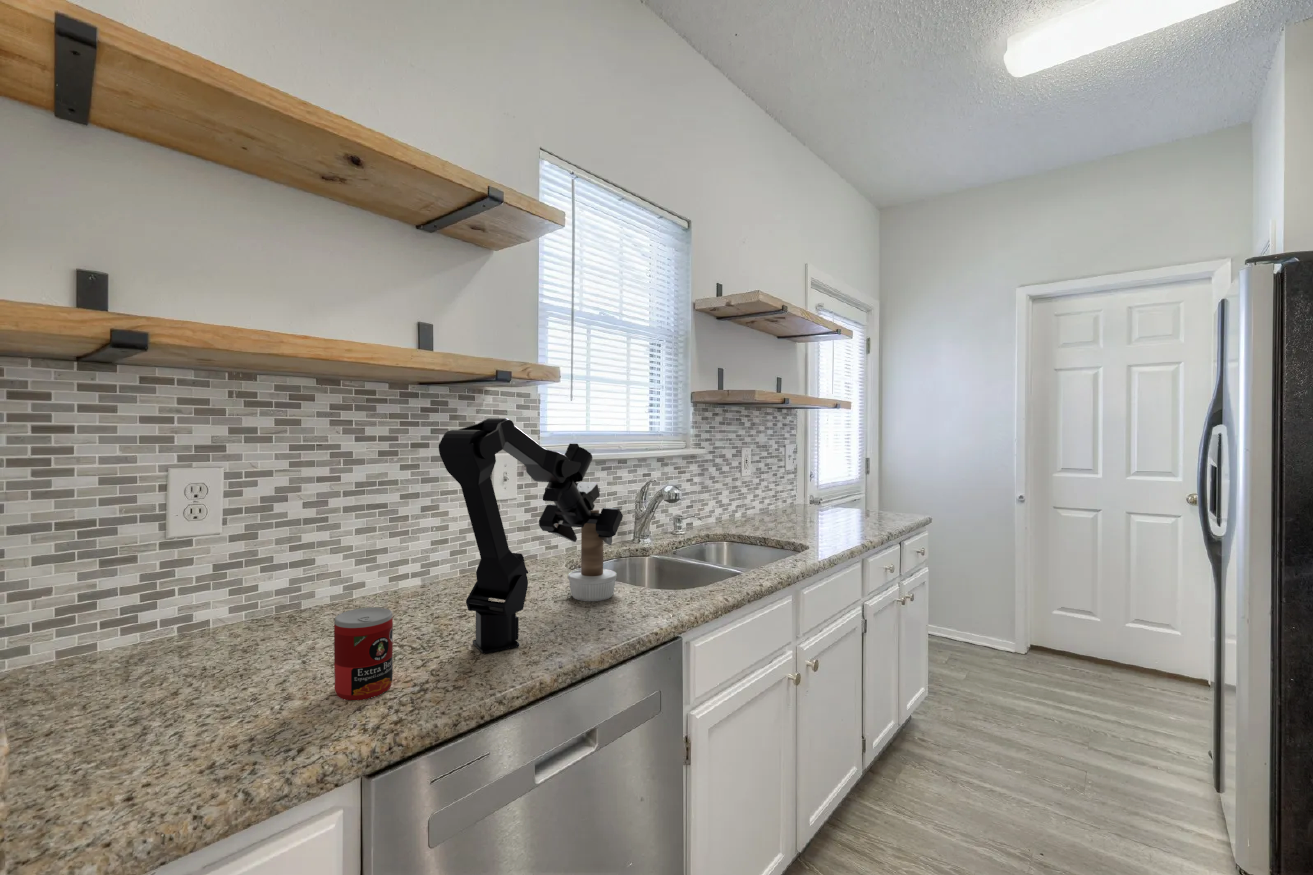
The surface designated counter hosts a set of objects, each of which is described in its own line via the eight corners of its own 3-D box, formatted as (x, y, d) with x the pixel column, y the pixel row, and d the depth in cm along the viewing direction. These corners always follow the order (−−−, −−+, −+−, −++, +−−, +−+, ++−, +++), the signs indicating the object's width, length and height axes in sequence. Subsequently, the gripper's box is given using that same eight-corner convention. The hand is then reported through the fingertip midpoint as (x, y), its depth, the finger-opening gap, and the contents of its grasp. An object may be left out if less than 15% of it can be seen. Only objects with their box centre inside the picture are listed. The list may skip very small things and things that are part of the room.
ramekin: (589, 587, 145) (589, 565, 145) (626, 594, 139) (626, 572, 139) (557, 597, 136) (557, 574, 136) (595, 606, 130) (595, 582, 130)
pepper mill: (593, 577, 134) (594, 512, 134) (576, 574, 137) (576, 510, 136) (607, 572, 138) (607, 509, 138) (590, 569, 141) (591, 507, 140)
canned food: (354, 706, 82) (354, 627, 82) (322, 692, 87) (322, 617, 86) (404, 686, 89) (404, 612, 89) (372, 674, 93) (372, 604, 93)
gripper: (619, 471, 129) (640, 516, 139) (546, 469, 136) (571, 511, 147) (601, 512, 122) (625, 556, 132) (525, 507, 129) (553, 549, 139)
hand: (593, 541), depth 138 cm, fingers open, 9 cm apart
